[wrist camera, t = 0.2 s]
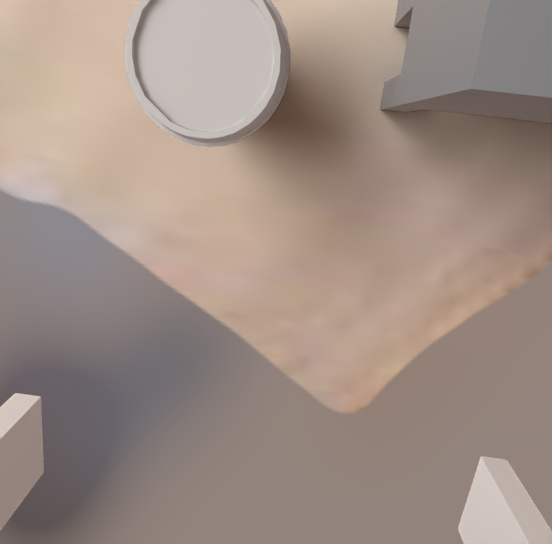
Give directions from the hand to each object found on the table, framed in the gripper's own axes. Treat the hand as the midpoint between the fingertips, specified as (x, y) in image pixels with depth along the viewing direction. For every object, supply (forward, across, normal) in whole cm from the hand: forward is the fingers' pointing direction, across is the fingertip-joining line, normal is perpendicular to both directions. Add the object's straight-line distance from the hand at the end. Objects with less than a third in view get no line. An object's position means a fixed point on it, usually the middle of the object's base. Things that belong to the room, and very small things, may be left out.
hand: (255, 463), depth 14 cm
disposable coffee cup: (+28, -6, +13) cm, 31 cm away
